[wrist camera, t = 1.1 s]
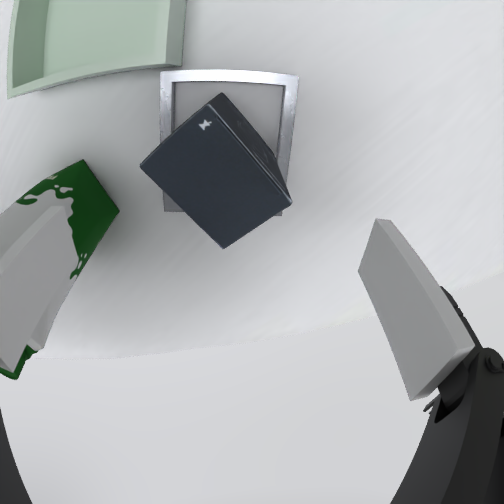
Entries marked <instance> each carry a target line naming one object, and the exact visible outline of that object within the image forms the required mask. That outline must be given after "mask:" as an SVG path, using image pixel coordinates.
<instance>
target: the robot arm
mask: <svg viewBox="0 0 504 504" xmlns="http://www.w3.org/2000/svg"><path fill="white" fill-rule="evenodd" d="M77 259H78V256H77V253H76V249H75V246H74V243H73V239H72V236H71V232H70V228H69V224H68V221H67V217H66V213H65V208H64V206H51V207H50V208H49V209H48V210H47V211H46V212H44V213H43V214H42V215H41V216H40V217H39V218H38V219H37V220H36V221H35V222H34V223H33V224H32V225H31V226H30V227H29V228H28V229H27V230H26V231H25V232H24V233H23V234H22V235H21V237H20V238H19V239H18V240H17V241H16V242H15V243H14V244H13V245H12V246H11V247H10V249H9V250H8V251H7V252H6V253H5V254H4V255H3V257H2V258H1V259H0V367H1V368H3V369H5V370H8V371H10V372H12V373H13V372H14V370H15V368H16V366H17V363H18V361H19V359H20V357H21V355H22V353H23V351H24V349H25V346H26V344H27V342H28V340H29V339H30V337H31V335H32V333H33V331H34V329H35V327H36V325H37V323H38V322H39V320H40V318H41V316H42V314H43V313H44V311H45V309H46V307H47V306H48V304H49V302H50V301H51V299H52V297H53V296H54V294H55V292H56V291H57V289H58V287H59V286H60V284H61V283H62V281H63V280H64V278H65V276H66V275H67V273H68V272H69V270H70V269H71V267H72V266H73V264H74V263H75V261H76V260H77ZM358 273H359V275H360V277H361V279H362V281H363V283H364V286H365V288H366V290H367V292H368V294H369V297H370V299H371V301H372V303H373V306H374V308H375V310H376V312H377V315H378V317H379V319H380V322H381V324H382V326H383V329H384V332H385V334H386V336H387V339H388V341H389V344H390V346H391V349H392V351H393V354H394V357H395V360H396V362H397V365H398V367H399V370H400V373H401V376H402V379H403V381H404V384H405V387H406V390H407V393H408V396H409V399H410V401H412V400H416V399H420V398H424V397H427V396H428V395H430V394H431V393H432V392H433V391H434V390H435V389H436V388H437V387H438V390H439V392H440V394H439V395H438V396H437V397H436V398H435V399H433V400H432V401H431V402H430V403H429V404H428V405H427V406H426V407H425V409H424V410H423V411H424V412H426V411H427V410H428V409H429V408H430V407H432V406H433V408H432V411H431V412H430V413H429V414H430V417H429V419H428V422H427V425H426V428H425V431H424V433H423V436H422V438H421V441H420V443H419V446H418V448H417V451H416V453H415V455H414V458H413V460H412V462H411V464H410V466H409V469H408V471H407V473H406V475H405V477H404V479H403V481H402V483H401V485H400V487H399V489H398V490H397V492H396V494H395V496H394V498H393V500H392V501H391V503H390V504H504V361H503V358H502V357H501V356H500V355H499V353H497V352H496V351H495V350H494V349H491V348H483V347H482V346H481V344H480V342H479V340H478V338H477V337H476V335H475V333H474V331H473V330H472V328H471V326H470V325H469V323H468V321H467V319H466V318H465V317H463V313H462V311H461V310H460V308H458V305H457V303H456V302H455V300H454V299H453V297H452V296H451V295H450V294H449V293H448V292H447V291H446V290H445V289H444V288H443V287H442V286H439V284H438V283H437V281H436V280H435V279H434V277H433V276H432V274H431V273H430V271H429V270H428V268H427V267H426V266H425V264H424V263H423V261H422V260H421V259H420V257H419V256H418V255H417V253H416V252H415V251H414V249H413V248H412V247H411V245H410V244H409V243H408V241H407V240H406V239H405V238H404V236H403V235H402V234H401V232H400V231H399V230H398V229H397V227H396V226H395V225H394V224H393V223H392V221H391V220H384V219H375V222H374V225H373V228H372V231H371V234H370V237H369V241H368V244H367V247H366V250H365V252H364V255H363V258H362V261H361V264H360V267H359V269H358ZM0 504H32V502H31V500H30V498H29V495H28V493H27V491H26V489H25V486H24V484H23V482H22V479H21V477H20V475H19V471H18V469H17V466H16V463H15V460H14V457H13V454H12V451H11V448H10V445H9V442H8V438H7V434H6V430H5V427H4V423H3V418H2V414H1V409H0Z"/></svg>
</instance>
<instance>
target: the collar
mask: <svg viewBox="0 0 504 504" xmlns="http://www.w3.org/2000/svg"><path fill="white" fill-rule="evenodd" d="M176 81H238V82H255V83H268V84H278V85H284V91H283V100H282V110H281V120H280V129H279V138H278V147H277V157H276V161H277V163H278V166H279V169H280V171H281V174H282V176H283V179H284V182H285V184H286V181H287V173H288V166H289V158H290V150H291V142H292V134H293V125H294V117H295V108H296V100H297V91H298V81H299V76H295V75H288V74H279V73H269V72H257V71H242V70H177V71H162V72H161V77H160V143H162V142H163V141H164V140H165V139H166V138H167V137H168V136H169V135H170V134H171V133H172V132H174V95H175V82H176ZM163 200H164V212H184V211H183V210H182V209H181V208H180V207H179V206H178V205H177V204H176V203H175V202H174V201H173V200H172V199H171V198H170V197H169V196H168V195H167V194H166V193H165V192H164V191H163ZM274 216H282V211H281V212H279V213H277V214H276V215H274Z"/></svg>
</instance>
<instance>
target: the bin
mask: <svg viewBox="0 0 504 504" xmlns="http://www.w3.org/2000/svg"><path fill="white" fill-rule="evenodd" d="M186 3H187V0H14V5H13V10H12V17H11V24H10V32H9V42H8V57H7V99H10V98H13V97H17V96H20V95H24V94H28V93H32V92H36V91H40V90H44V89H47V88H50V87H54V86H57V85H61V84H65V83H69V82H73V81H77V80H81V79H86V78H90V77H95V76H100V75H106V74H112V73H118V72H124V71H132V70H140V69H149V68H159V67H173V66H182V51H183V36H184V24H185V13H186Z"/></svg>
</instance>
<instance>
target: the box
mask: <svg viewBox="0 0 504 504" xmlns="http://www.w3.org/2000/svg"><path fill="white" fill-rule="evenodd" d="M140 168H141V169H142V170H143V171H144V172H145V173H146V174H147V175H148V176H149V177H150V178H151V179H152V180H153V181H154V182H155V183H156V184H157V185H158V186H159V187H160V188H161V189H162V190H163V191H164V192H165V193H166V194H167V195H168V196H169V197H170V198H171V199H172V200H173V201H174V202H175V203H176V204H177V205H178V206H179V207H180V208H181V209H182V210H183V211H184V212H185V213H186V214H187V215H188V216H190V217H191V218H192V219H193V220H194V221H195V222H196V223H197V224H198V225H199V226H200V227H201V228H202V229H203V230H204V231H205V232H206V233H207V234H208V235H209V236H210V237H211V238H212V239H213V240H214V241H215V242H216V243H217V244H218V245H219V246H220V247H221V248H222V249H225V248H226V247H228V246H229V245H231V244H232V243H234V242H235V241H237V240H238V239H240V238H241V237H243V236H244V235H246V234H247V233H249V232H250V231H252V230H253V229H255V228H256V227H258V226H259V225H261V224H262V223H264V222H265V221H267V220H268V219H270V218H271V217H273V216H274V215H276V214H277V213H279V212H281V211H282V210H284V209H285V208H287V207H288V206H290V205H291V204H292V200H291V197H290V195H289V192H288V189H287V187H286V184H285V182H284V179H283V176H282V174H281V171H280V169H279V166H278V163H277V161H276V158H275V156H274V154H273V152H272V151H271V150H270V148H269V147H268V146H267V145H266V143H265V142H264V141H263V139H262V138H261V137H260V136H259V134H258V133H257V132H256V131H255V130H254V128H253V127H252V126H251V125H250V124H249V122H248V121H247V120H246V119H245V117H244V116H243V115H242V114H241V113H240V112H239V110H238V109H237V108H236V107H235V106H234V105H233V104H232V102H231V101H230V100H229V99H228V98H227V97H226V96H225V94H224V93H220V94H218V95H217V96H216V97H215V98H213V99H212V100H211V101H209V102H208V103H207V104H206V105H204V106H203V107H202V108H201V109H199V110H198V111H197V112H196V113H195V114H193V115H192V116H191V117H190V118H188V119H187V120H186V121H185V122H184V123H183V124H182V125H180V126H179V127H178V128H177V129H176V130H175V131H174V132H172V133H171V134H170V135H169V136H168V137H167V138H166V139H165V140H164V141H163V142H162V143H161V144H160V145H159V146H158V147H157V148H156V149H155V150H154V151H153V152H152V153H150V155H149V156H148V157H147V158H146V159H145V160H144V161H143V162H142V163H141V164H140Z"/></svg>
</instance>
